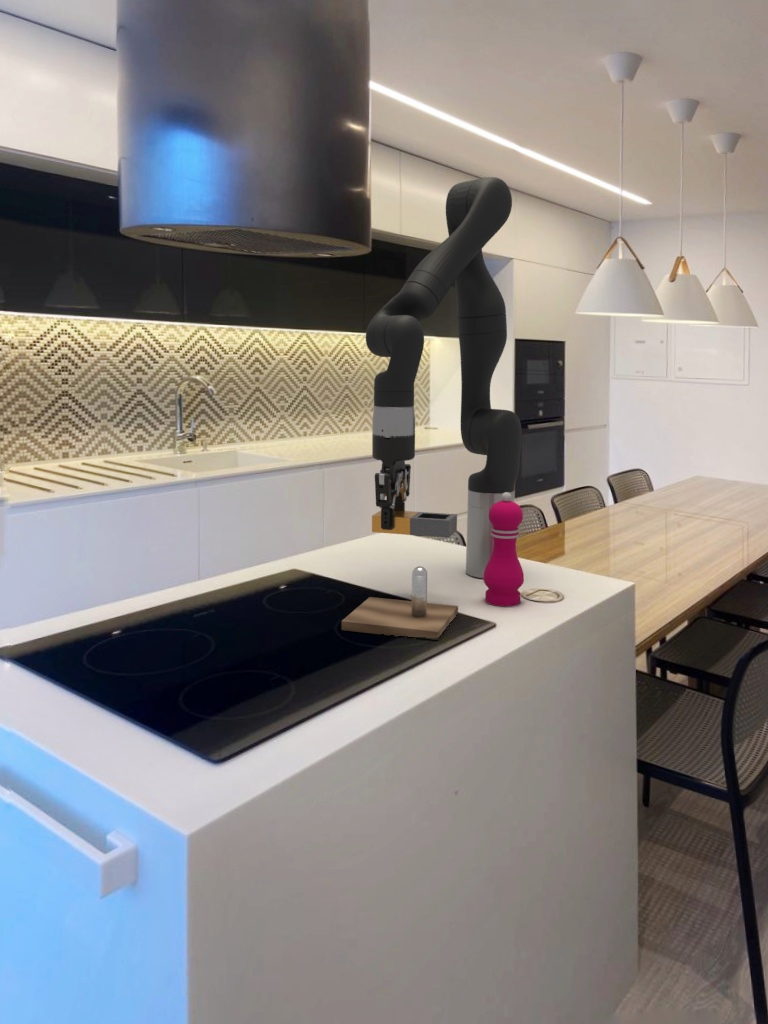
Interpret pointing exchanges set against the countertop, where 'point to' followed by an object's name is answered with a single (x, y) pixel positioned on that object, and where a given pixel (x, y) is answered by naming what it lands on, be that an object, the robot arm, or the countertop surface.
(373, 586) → the countertop surface
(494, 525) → the pepper mill
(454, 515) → the link
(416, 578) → the post
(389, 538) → the countertop surface
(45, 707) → the countertop surface
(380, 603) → the board
